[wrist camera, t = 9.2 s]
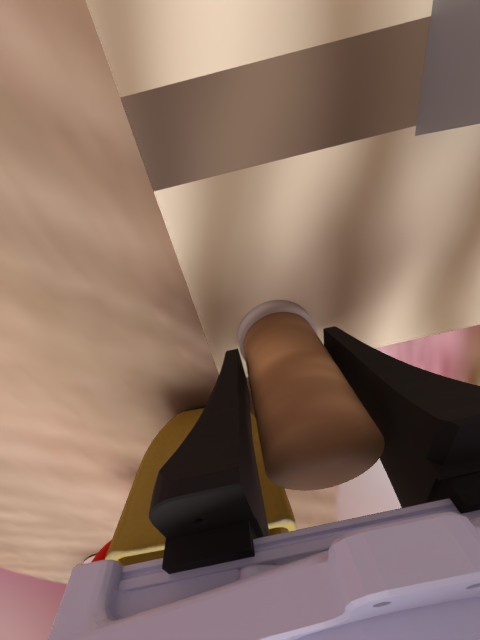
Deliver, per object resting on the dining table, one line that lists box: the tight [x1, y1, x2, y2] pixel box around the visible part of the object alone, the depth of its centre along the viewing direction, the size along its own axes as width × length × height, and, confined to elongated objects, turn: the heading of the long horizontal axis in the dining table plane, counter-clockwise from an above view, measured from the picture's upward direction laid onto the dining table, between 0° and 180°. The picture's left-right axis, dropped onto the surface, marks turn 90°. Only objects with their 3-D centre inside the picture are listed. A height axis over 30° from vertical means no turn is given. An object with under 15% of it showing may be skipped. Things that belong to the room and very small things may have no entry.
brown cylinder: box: [238, 300, 385, 491], centre depth 11 cm, size 4×4×8 cm
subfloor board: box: [86, 0, 480, 377], centre depth 11 cm, size 18×20×2 cm
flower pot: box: [105, 408, 296, 566], centre depth 17 cm, size 9×9×9 cm
